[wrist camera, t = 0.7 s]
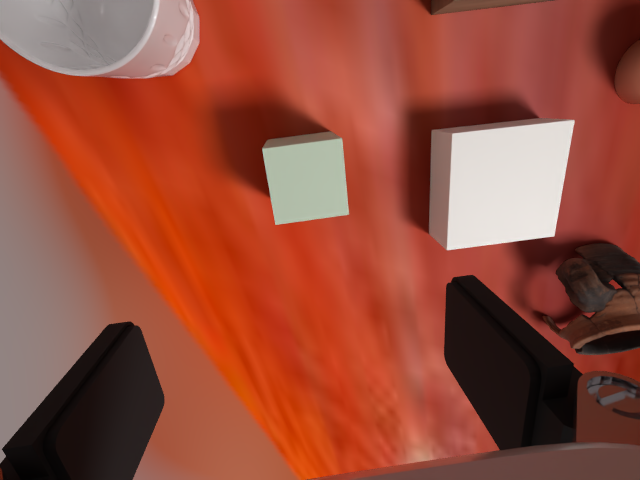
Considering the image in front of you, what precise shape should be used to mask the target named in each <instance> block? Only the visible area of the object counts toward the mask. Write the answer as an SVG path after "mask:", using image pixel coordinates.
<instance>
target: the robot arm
mask: <svg viewBox="0 0 640 480" xmlns="http://www.w3.org/2000/svg"><path fill="white" fill-rule="evenodd" d="M444 356H445V361H446V363H447V366H448V367H449V369H450V371H451V372H452V374H453V375H454V377H455V379H456V380H457V382H458V383H459V385H460V387H461V388H462V390H463V391H464V393H465V395H466V396H467V398H468V399H469V401H470V403H471V404H472V406H473V407H474V409H475V411H476V412H477V414H478V415H479V417H480V419H481V420H482V422H483V423H484V425H485V427H486V428H487V430H488V431H489V433H490V435H491V436H492V438H493V439H494V441H495V443H496V444H497V446H498V447H499V449H500V450H499V451H492V452H484V453H477V454H469V455H462V456H456V457H449V458H443V459H436V460H430V461H423V462H416V463H410V464H403V465H397V466H390V467H384V468H377V469H371V470H364V471H357V472H351V473H345V474H338V475H332V476H326V477H319V478H313V479H307V480H640V382H638V381H636V380H634V379H632V378H629V377H626V376H624V375H621V374H617V373H612V372H607V371H592V372H588V373H585V374H582V373H580V372H579V371H578V370H577V369H576V368H575V367H574V366H573V365H574V364H573V363H572V362H571V361H570V360H569V359H568V358H567V357H566V356H564V355H563V354H562V353H561V352H560V351H559V350H558V349H556V348H555V347H554V346H553V345H552V344H551V343H550V342H549V341H547V340H546V339H545V338H544V337H543V336H542V335H541V334H540V333H538V332H537V331H536V330H535V329H534V328H533V327H532V326H530V325H529V324H528V323H527V322H526V321H525V320H524V319H523V318H521V317H520V316H519V315H518V314H517V313H516V312H515V311H514V310H512V309H511V308H510V307H509V306H508V305H507V304H506V303H504V302H503V301H502V300H501V299H500V298H499V297H498V296H497V295H495V294H494V293H493V292H492V291H491V290H490V289H489V288H487V287H486V286H485V285H484V284H483V283H482V282H481V281H480V280H478V279H477V278H476V277H475V276H473V275H467V276H460V277H454V278H453V279H452V281H451V283H448V284H447V286H446V312H445V344H444ZM163 406H164V394H163V391H162V388H161V385H160V383H159V379H158V377H157V374H156V371H155V368H154V365H153V362H152V360H151V357H150V354H149V352H148V348H147V345H146V342H145V340H144V337H143V334H142V331H141V329H140V327H138V326H134V324H133V323H132V322H123V323H116V324H109V325H108V326H107V327H106V328H105V329H104V330H103V331H102V333H101V334H100V335H99V336H98V337H97V338H96V339H95V341H94V342H93V343H92V344H91V345H90V346H89V348H88V349H87V350H86V351H85V352H84V353H83V355H82V356H81V357H80V358H79V359H78V361H77V362H76V363H75V364H74V365H73V366H72V368H71V369H70V370H69V371H68V372H67V374H66V375H65V376H64V377H63V378H62V379H61V380H60V382H59V383H58V384H57V385H56V386H55V387H54V389H53V390H52V391H51V392H50V393H49V395H48V396H47V397H46V398H45V399H44V401H43V402H42V403H41V404H40V405H39V406H38V407H37V409H36V410H35V411H34V412H33V413H32V414H31V416H30V417H29V418H28V419H27V421H26V422H25V423H24V424H23V425H22V426H21V427H20V429H19V430H18V431H17V432H16V433H15V434H14V436H13V437H12V438H11V439H10V441H9V442H8V443H7V444H6V445H5V446H4V447H3V449H2V450H3V452H4V453H5V455H6V457H5V459H4V460H3V461H2V462H1V463H0V480H132V479H133V477H134V475H135V472H136V470H137V468H138V465H139V463H140V461H141V458H142V456H143V454H144V451H145V449H146V447H147V444H148V442H149V439H150V437H151V435H152V433H153V430H154V428H155V425H156V423H157V421H158V418H159V416H160V413H161V411H162V409H163Z"/></svg>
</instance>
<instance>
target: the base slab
mask: <svg viewBox="0 0 640 480" xmlns="http://www.w3.org/2000/svg"><path fill="white" fill-rule="evenodd" d="M573 126H574V120H567V119H548V118H535V119H526V120H517V121H508V122H499V123H490V124H481V125H472V126H463V127H454V128H445V129H436V130H432V132H431V171H430V210H429V235H431V236H432V237H433V238H434V239H435V240H436V241H437V242H438V243H439V244H441V245H442V246H443V247H444V248H445V249H446V250H453V249H460V248H468V247H476V246H483V245H491V244H499V243H506V242H514V241H522V240H530V239H537V238H545V237H553V236H554V235H555V229H556V223H557V218H558V212H559V206H560V201H561V195H562V189H563V183H564V178H565V172H566V166H567V160H568V155H569V149H570V143H571V137H572V132H573Z"/></svg>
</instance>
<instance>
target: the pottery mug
mask: <svg viewBox="0 0 640 480" xmlns="http://www.w3.org/2000/svg"><path fill="white" fill-rule="evenodd" d="M576 252H577V253H578V254H580V255H581V256H582V257H583V259H582V258H571V259H568V260H566V261H564V262H563V263H562V264H561V265H560V266H559V268H558V269H557V271H556V274H557V275H558V279H559V280H560V281H561V282H562V284H563V285H564V286H565V288H566V293H567V294H568V296H569V297H570V301H571V302H572V303H573V304H574V305H576V306H577V307H578V308H580V309H581V310H582V311H584V312H595V314H594V315H592V316H591V317H590V318H588V317H587V316H585V315H580V316H579V317H577V318H576V319H575V320H574V321H571V322H570V323H569V324H568V325H567V327H565V328H563V329H562V330H561V329H559V328H558V327H557V326H556V324H555V323H554V322H553V320H552V319H551V318H550V317H549V316H543V319H544V320H545V322H546V324H547V325H548V326H549V327H550V329H551V330H552V331H554V332H555V333H556V334H557V335H559V336H560V337H561V338H564V339H566V340H568V341H569V342H570V346H571V348H573V349H575V351H576V353H578V354H584V355H601V354H610V353H618V352H623V351H628V350H632V349H637V348H640V263H639V262H638V261H637V260H636V259H635V258H633V257H631V256H630V255H628V254H627V253H625V252H624V251H623V250H622V249H621V248H619V247H618V246H616V245H611V244H601V243H598V244H590V245H585V246H581V247H578V248H576ZM612 279H613V280H614V281H615V282H617V283H618V284H619V285H620V286H621V287H622V289H615V288H614V286H612V285H611V284H609V282H610V281H611V280H612Z"/></svg>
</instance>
